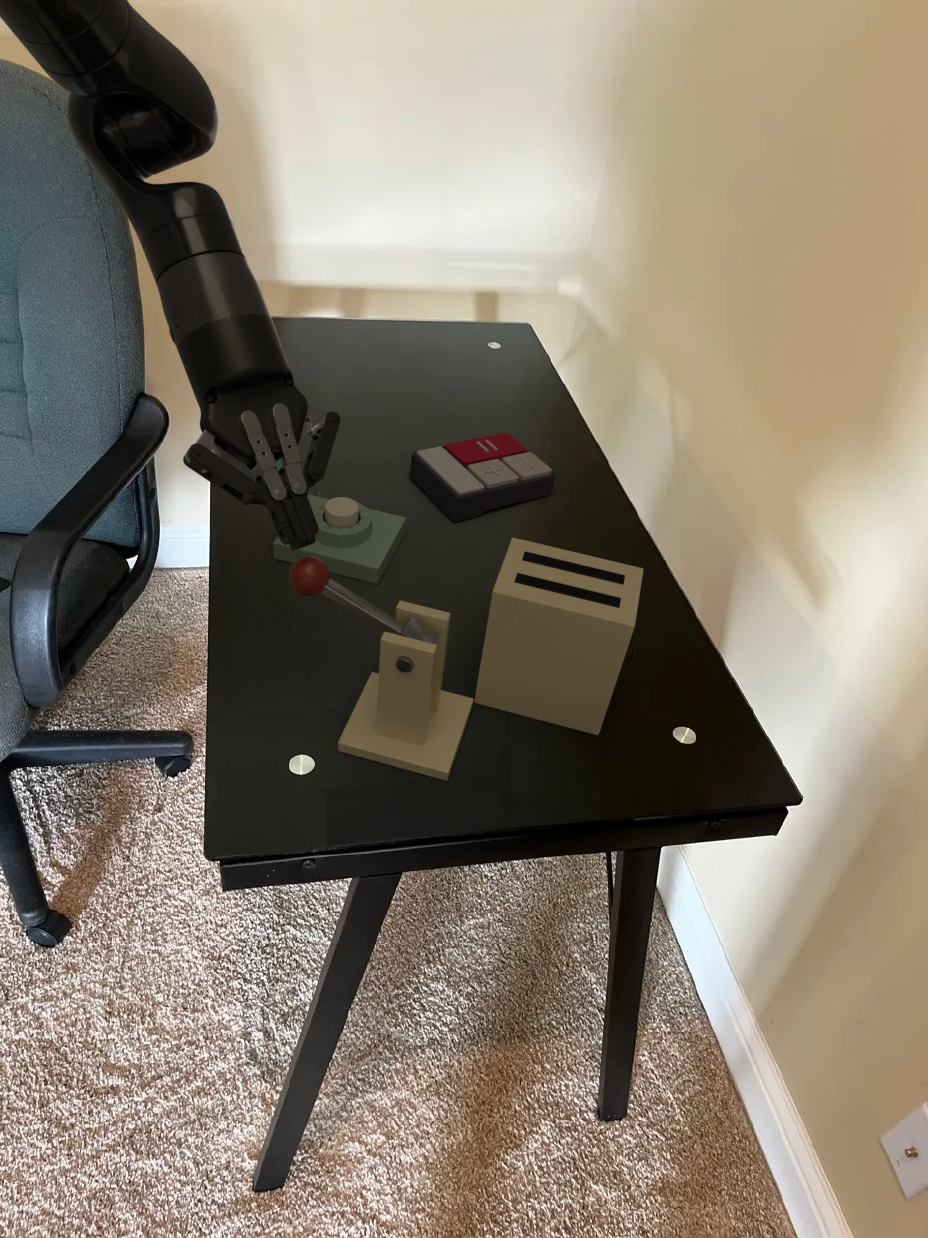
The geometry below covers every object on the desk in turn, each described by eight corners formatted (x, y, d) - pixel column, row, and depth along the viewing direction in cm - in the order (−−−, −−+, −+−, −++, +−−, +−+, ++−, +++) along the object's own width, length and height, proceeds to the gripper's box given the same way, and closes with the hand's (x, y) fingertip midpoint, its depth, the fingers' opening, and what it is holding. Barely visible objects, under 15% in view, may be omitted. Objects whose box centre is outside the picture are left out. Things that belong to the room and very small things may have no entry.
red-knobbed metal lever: (276, 589, 65) (291, 564, 63) (292, 565, 68) (307, 541, 66) (414, 674, 68) (433, 653, 66) (425, 648, 70) (443, 627, 68)
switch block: (273, 558, 91) (271, 529, 88) (308, 509, 98) (308, 480, 95) (377, 584, 89) (378, 555, 86) (405, 532, 96) (407, 504, 94)
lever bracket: (337, 751, 72) (337, 647, 64) (371, 680, 79) (375, 577, 70) (447, 781, 71) (462, 680, 62) (472, 706, 78) (489, 605, 69)
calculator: (558, 469, 103) (458, 492, 96) (551, 498, 106) (453, 523, 98) (508, 427, 109) (411, 446, 102) (502, 456, 112) (407, 476, 105)
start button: (320, 524, 90) (320, 511, 89) (332, 506, 93) (332, 493, 91) (351, 532, 90) (351, 519, 88) (362, 514, 92) (363, 501, 91)
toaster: (473, 703, 78) (492, 589, 68) (492, 647, 84) (512, 535, 74) (598, 735, 77) (635, 625, 67) (608, 676, 82) (644, 566, 73)
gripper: (144, 325, 56) (236, 564, 58) (317, 297, 63) (396, 513, 64) (130, 365, 63) (212, 579, 64) (288, 336, 69) (360, 531, 71)
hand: (304, 546), depth 64 cm, fingers closed
